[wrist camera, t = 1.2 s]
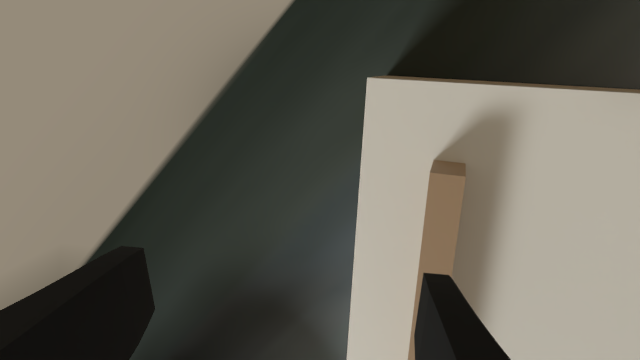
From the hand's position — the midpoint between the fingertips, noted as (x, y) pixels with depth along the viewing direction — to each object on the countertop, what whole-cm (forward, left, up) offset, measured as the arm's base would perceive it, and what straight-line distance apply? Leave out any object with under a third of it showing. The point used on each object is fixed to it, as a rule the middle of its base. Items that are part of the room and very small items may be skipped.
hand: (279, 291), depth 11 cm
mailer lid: (-3, -6, -9) cm, 11 cm away
